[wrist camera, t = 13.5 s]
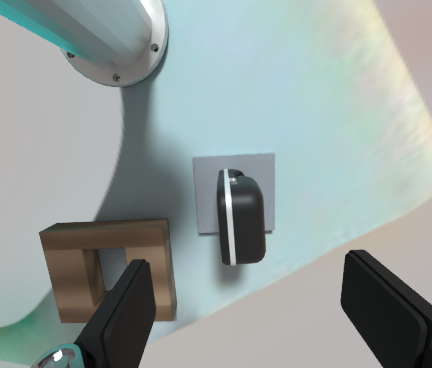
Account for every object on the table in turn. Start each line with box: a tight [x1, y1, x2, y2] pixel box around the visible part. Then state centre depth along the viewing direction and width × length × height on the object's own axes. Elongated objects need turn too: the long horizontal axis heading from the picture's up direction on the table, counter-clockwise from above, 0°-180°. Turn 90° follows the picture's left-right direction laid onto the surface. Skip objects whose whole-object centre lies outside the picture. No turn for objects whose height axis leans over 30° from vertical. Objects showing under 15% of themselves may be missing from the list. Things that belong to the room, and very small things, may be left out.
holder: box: [39, 219, 177, 323], centre depth 30 cm, size 14×16×3 cm
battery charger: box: [217, 169, 266, 266], centre depth 22 cm, size 7×4×11 cm, turn 5°
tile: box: [193, 153, 275, 233], centre depth 28 cm, size 10×10×1 cm
